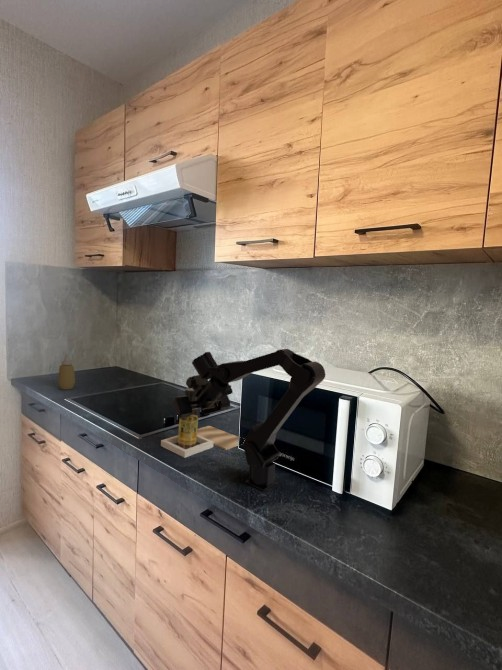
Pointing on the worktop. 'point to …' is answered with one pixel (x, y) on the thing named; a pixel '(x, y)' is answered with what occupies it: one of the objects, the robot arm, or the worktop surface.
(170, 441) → the collar
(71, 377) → the squeeze bottle
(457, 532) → the worktop surface
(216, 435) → the wooden board
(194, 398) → the sauce bottle
